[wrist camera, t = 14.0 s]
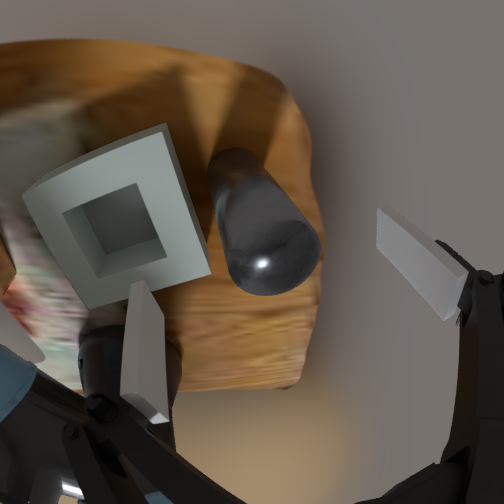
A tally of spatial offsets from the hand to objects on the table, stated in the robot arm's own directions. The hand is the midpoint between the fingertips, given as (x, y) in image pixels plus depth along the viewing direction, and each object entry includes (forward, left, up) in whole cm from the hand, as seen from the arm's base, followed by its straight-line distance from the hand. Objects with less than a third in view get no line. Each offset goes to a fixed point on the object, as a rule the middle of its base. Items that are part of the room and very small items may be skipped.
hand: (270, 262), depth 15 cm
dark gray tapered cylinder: (0, 0, -14) cm, 14 cm away
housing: (0, +11, -14) cm, 18 cm away
